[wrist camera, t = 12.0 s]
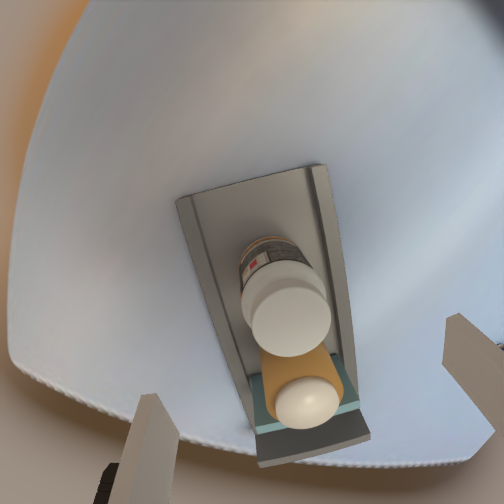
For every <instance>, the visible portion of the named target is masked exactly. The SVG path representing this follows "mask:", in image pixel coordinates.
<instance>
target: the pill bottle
mask: <svg viewBox="0 0 504 504" xmlns="http://www.w3.org/2000/svg"><path fill="white" fill-rule="evenodd" d="M239 286H240V296H241V307H242V312H243V316H244V318H245V320H246V322H247V324H248V325H249V326H250V328H251V329H252V333H253V336H254V338H255V340H256V342H257V343H258V344H259V345H260V346H261V347H262V348H263V349H264V350H265V351H267V352H269V353H271V354H273V355H277V356H282V357H293V356H298V355H302V354H304V353H307V352H309V351H311V350H312V349H314V348H315V347H317V346H318V345H319V344H320V343H321V342H322V341H323V339H324V338H325V337H326V335H327V333H328V331H329V328H330V324H331V311H330V308H329V305H328V303H327V301H326V291H325V286H324V283H323V281H322V279H321V278H320V276H319V274H318V273H317V272H316V270H315V269H314V267H313V266H312V265H311V263H310V262H309V261H308V259H307V258H306V256H305V255H304V253H303V252H302V251H301V250H300V248H299V247H298V246H297V245H296V244H294V243H293V242H292V241H290V240H288V239H286V238H283V237H278V236H269V237H264V238H261V239H258V240H256V241H255V242H253V243H252V244H251V245H250V246H248V248H247V249H246V250H245V251H244V253H243V255H242V257H241V259H240V262H239Z"/></svg>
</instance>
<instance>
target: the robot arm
mask: <svg viewBox="0 0 504 504" xmlns="http://www.w3.org/2000/svg"><path fill="white" fill-rule="evenodd" d="M442 365H443V366H444V367H445V368H446V369H447V371H448V372H449V373H450V374H451V375H452V377H453V378H454V379H455V380H456V381H457V383H458V384H459V385H460V386H461V387H462V389H463V390H464V391H465V392H466V394H467V395H468V396H469V397H470V398H471V400H472V401H473V402H474V403H475V405H476V406H477V407H478V408H479V410H480V411H481V412H482V414H483V415H484V416H485V417H486V419H487V420H488V421H489V423H490V424H491V425H492V426H493V428H494V429H495V430H496V432H497V433H498V434H499V436H500V437H501V438H502V440H503V441H504V351H503V350H501V349H500V348H499V347H498V346H497V345H496V344H495V343H494V342H493V341H491V340H490V339H489V338H488V337H487V336H486V335H485V334H483V333H482V332H481V331H480V330H479V329H478V328H477V327H475V326H474V325H473V324H472V323H471V322H470V321H468V320H467V319H466V318H465V317H464V316H462V315H461V314H460V313H457V314H455V315H453V316H450V317H448V318H446V330H445V342H444V353H443V361H442ZM179 434H180V433H179V431H178V430H177V428H176V426H175V425H174V423H173V421H172V419H171V418H170V416H169V414H168V413H167V411H166V409H165V407H164V406H163V404H162V402H161V400H160V398H159V397H158V395H157V393H155V394H147V395H141V398H140V401H139V404H138V407H137V410H136V413H135V416H134V419H133V422H132V425H131V428H130V431H129V434H128V438H127V441H126V444H125V447H124V450H123V454H122V457H121V460H120V463H110V464H109V465H108V467H107V468H106V469H105V470H104V472H103V474H102V477H101V480H100V484H99V487H98V490H97V491H98V492H97V493H96V496H95V499H94V503H93V504H169V500H170V492H171V486H172V479H173V472H174V465H175V459H176V453H177V447H178V440H179Z"/></svg>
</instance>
